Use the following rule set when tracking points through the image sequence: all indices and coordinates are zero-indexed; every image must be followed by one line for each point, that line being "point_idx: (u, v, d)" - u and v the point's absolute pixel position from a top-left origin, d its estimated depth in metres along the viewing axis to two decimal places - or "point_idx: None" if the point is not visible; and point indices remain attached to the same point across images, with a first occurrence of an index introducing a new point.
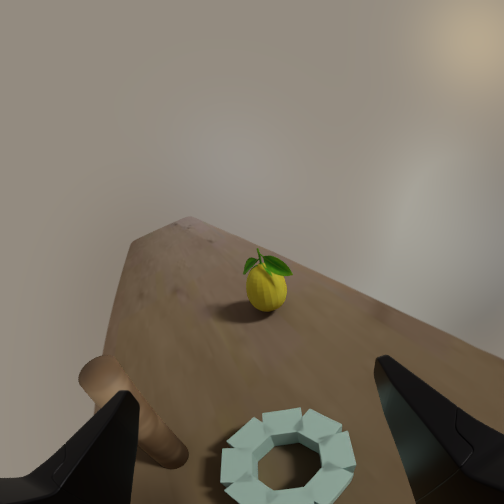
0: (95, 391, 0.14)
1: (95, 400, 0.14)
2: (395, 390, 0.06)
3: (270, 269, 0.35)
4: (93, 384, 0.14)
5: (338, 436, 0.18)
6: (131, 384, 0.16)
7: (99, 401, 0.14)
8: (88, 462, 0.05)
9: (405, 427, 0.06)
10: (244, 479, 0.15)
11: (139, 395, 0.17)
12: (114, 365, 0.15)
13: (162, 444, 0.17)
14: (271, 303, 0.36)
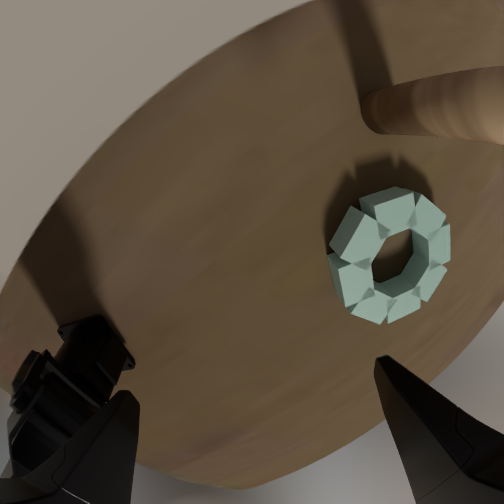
0: None
1: (488, 99, 0.06)
2: (395, 390, 0.06)
3: None
4: None
5: (417, 302, 0.20)
6: None
7: (489, 108, 0.06)
8: (88, 462, 0.05)
9: (405, 427, 0.06)
10: (381, 231, 0.17)
11: None
12: None
13: (411, 132, 0.13)
14: None
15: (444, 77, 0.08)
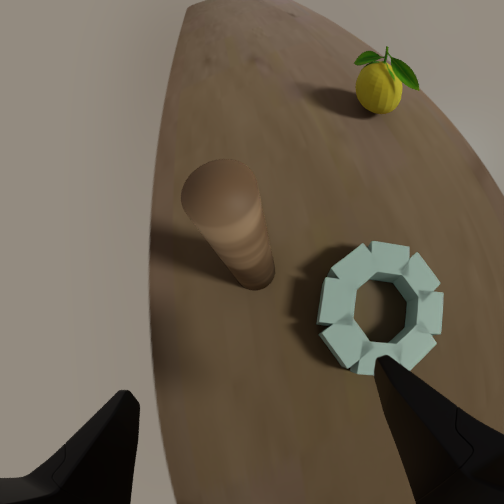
0: (218, 227, 0.11)
1: (209, 234, 0.12)
2: (395, 390, 0.06)
3: (396, 74, 0.21)
4: (214, 214, 0.11)
5: (435, 295, 0.18)
6: (261, 203, 0.13)
7: (216, 236, 0.12)
8: (88, 462, 0.05)
9: (405, 427, 0.06)
10: (345, 322, 0.19)
11: None
12: (248, 179, 0.12)
13: (263, 269, 0.19)
14: (383, 107, 0.25)
15: None
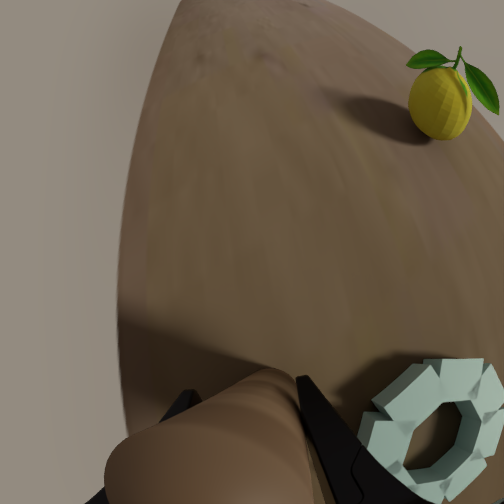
0: None
1: None
2: (302, 414, 0.06)
3: (472, 88, 0.12)
4: None
5: (499, 414, 0.09)
6: (309, 468, 0.04)
7: None
8: None
9: (313, 453, 0.06)
10: (391, 471, 0.10)
11: None
12: None
13: None
14: (449, 133, 0.16)
15: None
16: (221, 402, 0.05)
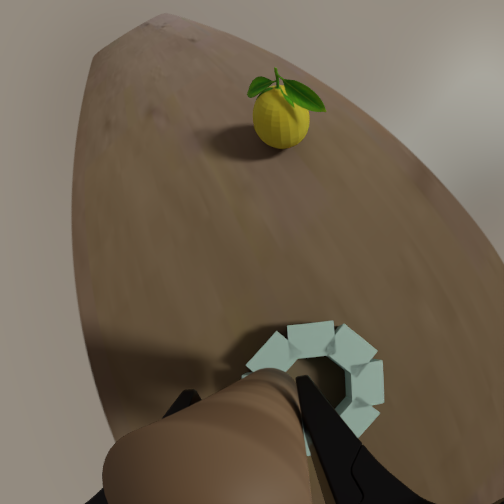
0: None
1: None
2: (302, 414, 0.06)
3: (293, 99, 0.20)
4: None
5: (372, 366, 0.17)
6: None
7: None
8: None
9: (313, 453, 0.06)
10: None
11: None
12: None
13: None
14: (289, 142, 0.24)
15: None
16: (219, 400, 0.05)
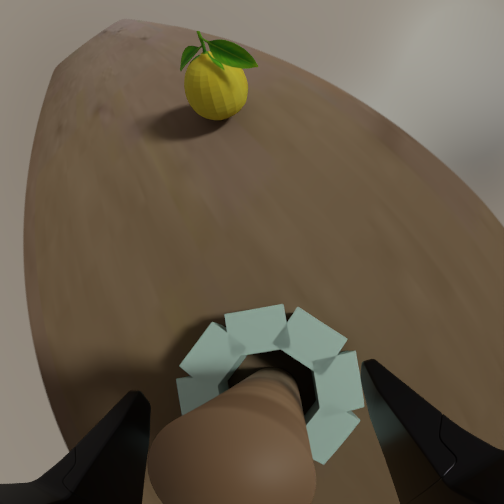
0: None
1: None
2: (379, 395, 0.06)
3: (220, 59, 0.17)
4: None
5: (342, 360, 0.14)
6: None
7: None
8: (100, 465, 0.05)
9: (389, 433, 0.06)
10: None
11: None
12: (297, 471, 0.04)
13: None
14: (225, 109, 0.21)
15: None
16: (238, 393, 0.06)
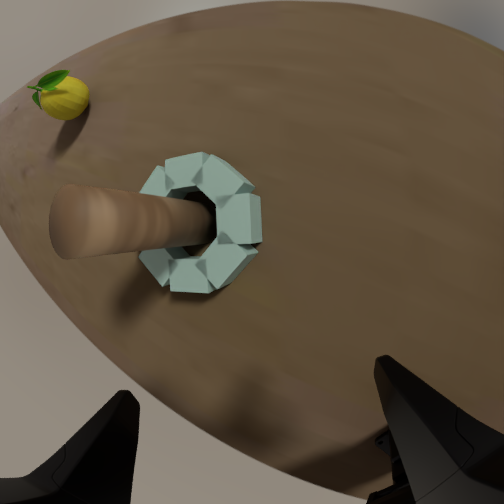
0: (81, 250, 0.10)
1: (90, 255, 0.11)
2: (395, 390, 0.06)
3: (50, 86, 0.19)
4: (72, 243, 0.10)
5: (207, 165, 0.19)
6: (109, 194, 0.12)
7: (94, 252, 0.11)
8: (88, 462, 0.05)
9: (405, 427, 0.06)
10: (173, 268, 0.21)
11: (127, 196, 0.13)
12: (74, 194, 0.10)
13: (188, 225, 0.18)
14: (78, 104, 0.23)
15: None
16: None
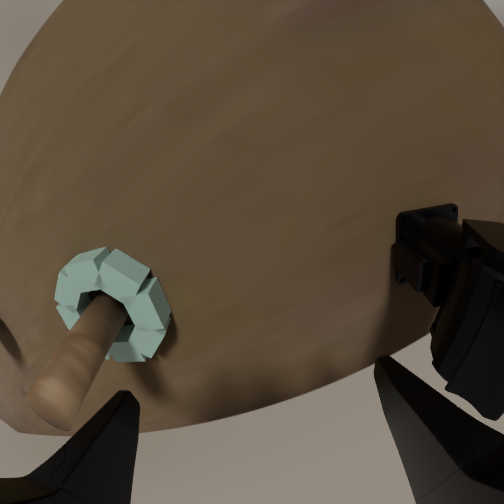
0: (66, 418, 0.11)
1: (76, 412, 0.12)
2: (395, 390, 0.06)
3: None
4: (60, 420, 0.11)
5: (70, 275, 0.19)
6: (43, 375, 0.12)
7: (74, 409, 0.12)
8: (88, 462, 0.05)
9: (405, 427, 0.06)
10: (134, 346, 0.21)
11: (52, 362, 0.13)
12: (32, 399, 0.10)
13: (101, 323, 0.18)
14: None
15: None
16: None
